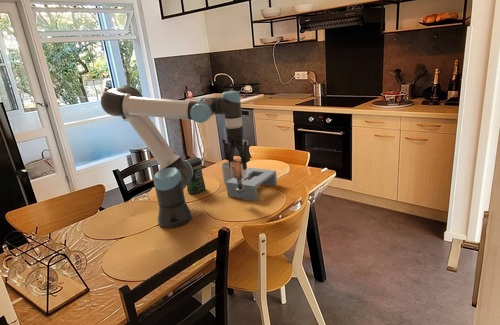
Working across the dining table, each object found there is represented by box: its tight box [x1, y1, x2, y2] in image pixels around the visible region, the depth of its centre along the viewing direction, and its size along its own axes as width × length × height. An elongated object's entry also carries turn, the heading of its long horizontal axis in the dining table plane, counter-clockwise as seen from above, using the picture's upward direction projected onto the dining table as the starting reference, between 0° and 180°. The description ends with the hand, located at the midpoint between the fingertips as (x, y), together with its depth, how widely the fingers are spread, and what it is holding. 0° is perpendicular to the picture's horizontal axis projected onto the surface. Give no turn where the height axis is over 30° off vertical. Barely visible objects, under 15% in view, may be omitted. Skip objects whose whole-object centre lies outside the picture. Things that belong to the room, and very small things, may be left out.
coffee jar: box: [186, 156, 206, 195], centre depth 181 cm, size 10×8×19 cm
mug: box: [221, 161, 233, 185], centre depth 191 cm, size 12×8×11 cm
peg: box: [232, 158, 246, 193], centre depth 157 cm, size 5×5×15 cm
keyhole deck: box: [225, 167, 278, 202], centre depth 175 cm, size 22×17×8 cm
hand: (238, 175), depth 157 cm, fingers closed on peg, 5 cm apart
